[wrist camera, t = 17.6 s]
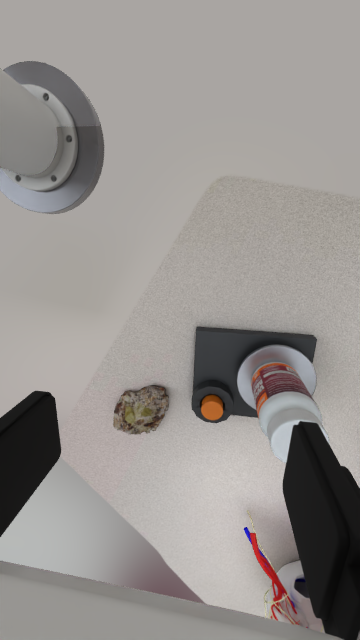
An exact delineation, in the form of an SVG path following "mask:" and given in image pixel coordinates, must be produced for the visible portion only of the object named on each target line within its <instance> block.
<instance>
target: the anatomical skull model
mask: <svg viewBox="0 0 360 640" xmlns="http://www.w3.org/2000/svg"><path fill="white" fill-rule="evenodd" d="M247 512H248V511H247ZM248 514H249V512H248ZM249 516H250V514H249ZM250 519H251V522H252V518H251V516H250ZM252 527H253V530H254V526H253V522H252ZM244 531H245V533H246V535H247V537H248V539H249V541H250V542H251V544H252V547H253V550H254V553H255V555H256V558H257V560H258V562H259V563H260V565H261V567H262V568H263V570H264V571H265V572H266V574H267V575H268V576H269V577H270V578H271V580H272V585H271V588H270V589H269V590H268V591H269V592H268V591H267V592H268V594H267V592H266V593H265V595H266V594H267V602H266V600H265V595H264V600H265V601H264V603H265V602H266V603H267V612H268V618H269V619H273V620H277V621H281V622H285V623H290V624H294V625H298V626H302V627H305V628H309V629H312V630H315V631H319V632H322V633H325V631H324V627H323V624H322V620H321V619H319V618H316V617H315V615H314V613H313V609H312V605H311V601H310V597H309V594H308V590H307V586H306V582H305V578H304V574H303V570H302V566H301V562H300V560H299V561H295V562H292V563H288V564H286V565H284V566H283V567H282V568H281V569H280V570H279V571H278V573H277V575H276V573H275V570H274V568H273V566H272V564H271V562H270V561H269V559H268V557H267V556H266V554H265V552H264V551H263V549H262V547H261V545H260V543H259V540H258V538H257V535H256V532H255V530H254V533H250V532H249V530H248V528H247V527H245V528H244ZM256 538H257V539H256ZM257 541H258V543H259V545H260V547H261V549H262V551H263V553H264V554H265V556H266V557H265V556H264V555H263V554H262V552H261V551H260V549H259V548H258V545H257ZM266 558H267V559H268V560H267V559H266ZM265 613H266V606H265ZM265 618H266V614H265Z"/></svg>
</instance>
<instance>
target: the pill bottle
mask: <svg viewBox="0 0 360 640" xmlns="http://www.w3.org/2000/svg"><path fill="white" fill-rule="evenodd" d="M251 387H252V392H253V396H254V401H255V405H256V409H257V414H258V419H259V423H260V426H261V429H262V431H263V432H264V434H265V435H266V436H267V437H268V439H269V442H270V446H271V449H272V451H273V453H274V454H275V456H276V457H277V458H278V459H279V460H281V461H283V462H284V463H286V462H287V456H288V451H289V445H290V440H291V434H292V428H293V425H298V423H299V422H300V421H304V422H313V423H317V424H318V425H319V427H320V428H321V430H322V432H323V434H324V436H325V438H326V440H327V441H328V443H329V437H328V434H327V432H326V430H325V429H324V427H323V425H322V416H321V412H320V410H319V408H318V406H317V404H316V403H315V401H314V400H313V398H312V397H311V395H310V393H309V391H308V390H307V388H306V386H305V385H304V383H303V381H302V379H301V378H300V376H299V375H298V373H297V372H296V370H295V369H294V368H292V367H291V366H289V365H288V364H285V363H282V362H270V363H266V364H264V365H262V366H260V367H259V368H258V369H257V370H256V371H255V373H254V374H253V376H252V380H251Z"/></svg>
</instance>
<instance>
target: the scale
mask: <svg viewBox="0 0 360 640" xmlns="http://www.w3.org/2000/svg"><path fill="white" fill-rule="evenodd" d="M316 341H317V339H316V338H315V337H314V336H313V335H303V334H290V333H276V332H263V331H249V330H235V329H222V328H208V327H197V329H196V342H195V361H194V381H193V396H192V410H193V411H194V412H195V414H196V416H197V417H199V418H200V419H202V420H203V421H205V422H211V423H218V422H221V421H224V420H227V418H228V417H229V416H230V415H239V416H247V417H256V418H258V414H257V410H256V409H254V408H252V407H251V406H249V405H248V404H247V403H246V402H245V401H244V399H243V398H242V396H241V395H240V393H239V390H238V386H237V373H238V369H239V367H240V365H241V363H242V362H243V360H244V359H245V358H246V357H247V356H248V355H249V354H250V353H252V352H253V351H255V350H257V349H259V348H261V347H264V346H268V345H285V346H289V347H292V348H295V349H297V350H298V351H300V352H301V353H303V354H304V355H305V356H306V357H307V358H308V359H309V361H310V362H311V363H313V357H314V352H315V347H316ZM208 395H216V396H218V397H219V398H220V399H221V400H222V402H223V414H222V416H221V417H220V418H219V419H217V420H209V419H207V418H205V417H204V416H203V415H202V412H201V407H202V401H203V399H204V398H205V397H206V396H208Z"/></svg>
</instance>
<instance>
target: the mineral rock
mask: <svg viewBox="0 0 360 640" xmlns="http://www.w3.org/2000/svg"><path fill="white" fill-rule="evenodd" d="M164 392H165V389H164V388H157V387H156V386H149V387H144V388H142V389H141V390H139V391H138V392H131V391H127V392H125V393H124V394H123V395H121V400H120V401H119V403H117V405H116V408H115V411H114V413H115V415H114V424H113V426H114V428H116V429H117V430H121V431H123V432H126V433H128V434H141V433H142V432H144V431H145V432H146V433H150V432H149V431H150V430H152V431H155V430H156V428H157V427H158V425H159V423H160V422H161V421H162V419H163V417H164V413H165V411H167V410H168V405H169V404H168V403H167V400H168V398H169V397H168V396H167V395H165V393H164Z"/></svg>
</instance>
